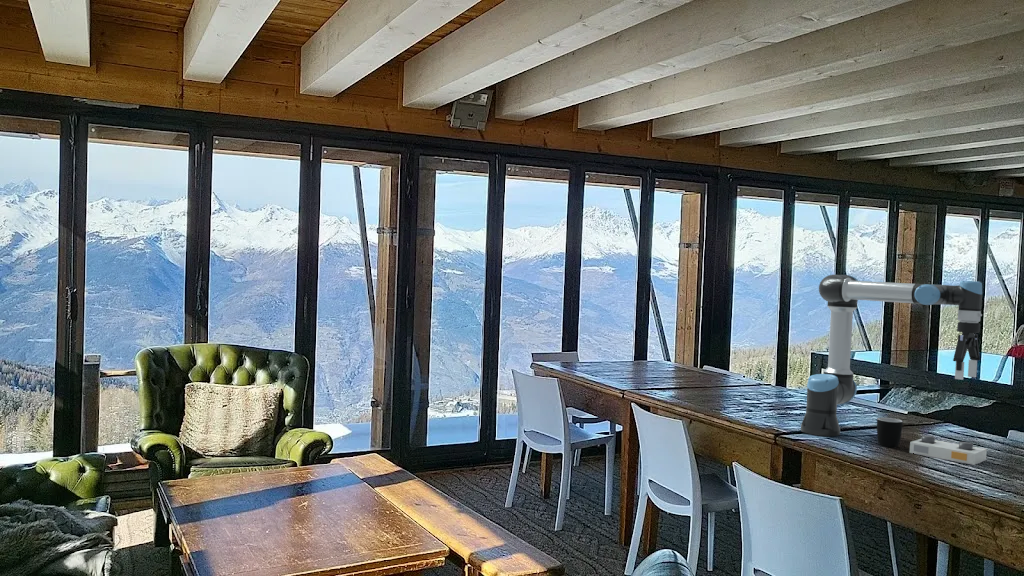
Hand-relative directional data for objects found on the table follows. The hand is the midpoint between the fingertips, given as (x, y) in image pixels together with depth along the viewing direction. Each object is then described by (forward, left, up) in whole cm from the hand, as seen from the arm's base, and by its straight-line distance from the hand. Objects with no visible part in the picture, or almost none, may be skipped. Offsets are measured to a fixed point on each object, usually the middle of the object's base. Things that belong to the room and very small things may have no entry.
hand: (965, 378), depth 318 cm
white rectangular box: (0, -14, -28) cm, 31 cm away
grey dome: (+6, -14, -25) cm, 29 cm away
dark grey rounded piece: (-7, -14, -25) cm, 29 cm away
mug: (-22, -14, -28) cm, 38 cm away
